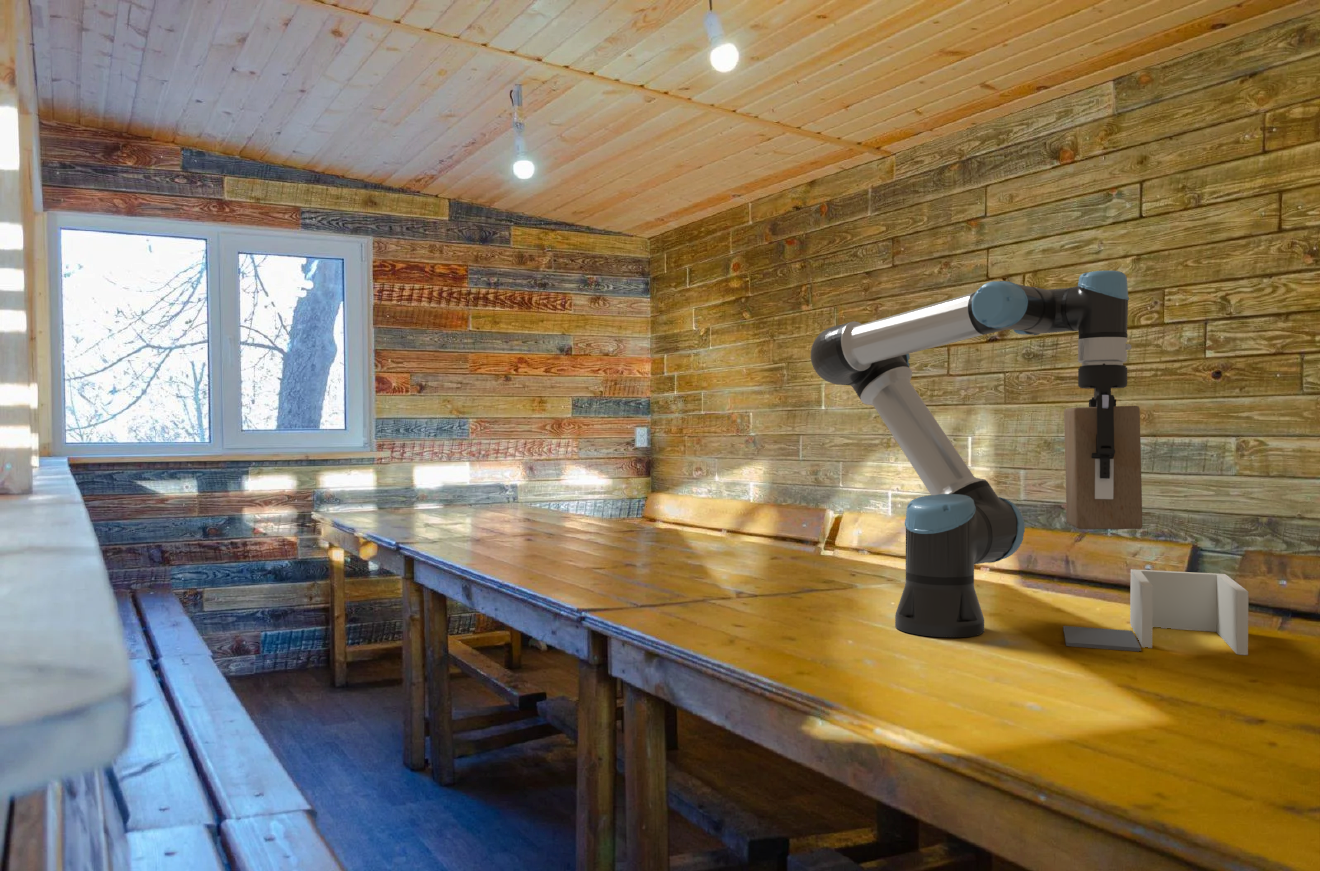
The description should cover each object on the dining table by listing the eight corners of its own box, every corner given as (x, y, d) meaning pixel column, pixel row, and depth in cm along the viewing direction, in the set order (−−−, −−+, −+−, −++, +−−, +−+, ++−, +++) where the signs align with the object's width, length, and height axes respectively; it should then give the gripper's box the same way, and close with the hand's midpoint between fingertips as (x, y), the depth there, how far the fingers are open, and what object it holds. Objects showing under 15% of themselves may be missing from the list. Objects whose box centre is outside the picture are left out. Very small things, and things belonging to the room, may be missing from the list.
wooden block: (1143, 529, 158) (1140, 405, 158) (1077, 529, 160) (1074, 407, 160) (1128, 523, 168) (1125, 406, 168) (1066, 523, 170) (1063, 408, 170)
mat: (1066, 645, 160) (1066, 642, 160) (1063, 629, 173) (1063, 625, 173) (1140, 651, 156) (1140, 647, 156) (1132, 634, 169) (1132, 630, 169)
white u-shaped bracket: (1141, 647, 159) (1142, 585, 159) (1130, 624, 177) (1130, 569, 177) (1247, 655, 154) (1248, 591, 154) (1224, 630, 172) (1225, 574, 172)
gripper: (1134, 359, 152) (1133, 502, 152) (1121, 368, 173) (1120, 492, 174) (1081, 360, 154) (1080, 500, 155) (1075, 368, 176) (1074, 491, 176)
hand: (1101, 496), depth 164 cm, fingers closed on wooden block, 10 cm apart
